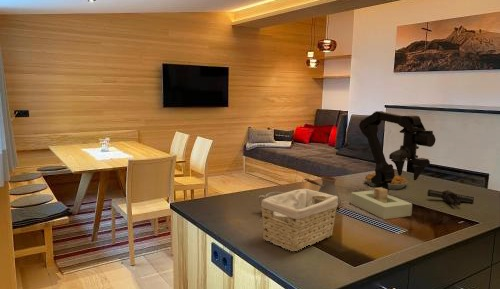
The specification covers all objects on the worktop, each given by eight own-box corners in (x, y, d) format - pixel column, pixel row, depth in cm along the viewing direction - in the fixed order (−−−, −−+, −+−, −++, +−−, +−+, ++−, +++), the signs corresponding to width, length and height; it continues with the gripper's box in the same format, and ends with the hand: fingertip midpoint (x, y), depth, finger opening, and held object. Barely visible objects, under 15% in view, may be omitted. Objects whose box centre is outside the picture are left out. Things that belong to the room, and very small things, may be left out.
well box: (350, 203, 166) (351, 192, 165) (375, 200, 171) (376, 190, 170) (384, 219, 146) (385, 207, 145) (411, 215, 151) (412, 203, 150)
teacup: (293, 211, 153) (294, 193, 152) (287, 220, 143) (288, 200, 142) (262, 207, 158) (262, 189, 157) (254, 215, 148) (254, 196, 146)
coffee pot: (325, 201, 168) (327, 169, 166) (346, 208, 159) (348, 174, 157) (292, 210, 155) (293, 175, 153) (312, 218, 146) (314, 181, 144)
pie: (410, 184, 204) (410, 175, 203) (403, 192, 185) (403, 183, 185) (370, 178, 215) (370, 170, 214) (359, 186, 197) (360, 177, 196)
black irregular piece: (484, 202, 157) (471, 192, 172) (436, 194, 161) (427, 185, 175) (481, 213, 158) (469, 203, 172) (433, 205, 162) (425, 196, 176)
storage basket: (301, 223, 140) (303, 186, 138) (338, 236, 128) (340, 195, 126) (257, 241, 123) (258, 198, 121) (295, 257, 112) (297, 211, 109)
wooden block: (372, 205, 159) (373, 188, 158) (380, 205, 161) (381, 187, 160) (378, 208, 156) (380, 190, 155) (386, 207, 157) (387, 189, 156)
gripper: (381, 141, 169) (378, 174, 171) (411, 147, 152) (408, 184, 154) (399, 140, 173) (397, 172, 175) (432, 146, 156) (428, 182, 158)
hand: (407, 177), depth 165 cm, fingers open, 9 cm apart
